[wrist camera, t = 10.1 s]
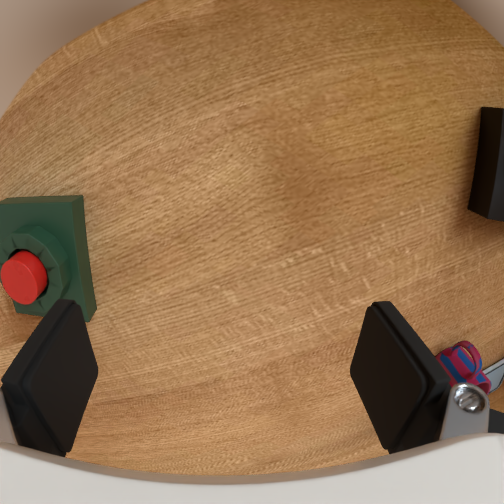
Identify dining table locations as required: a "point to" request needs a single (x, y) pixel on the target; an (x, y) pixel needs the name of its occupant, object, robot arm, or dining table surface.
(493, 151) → the panel
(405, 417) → the robot arm
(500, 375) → the smartphone
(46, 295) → the block
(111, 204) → the dining table surface
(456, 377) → the mug
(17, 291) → the button
